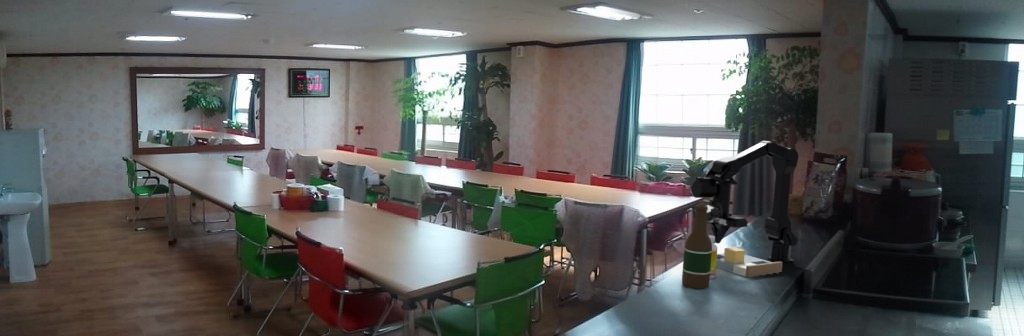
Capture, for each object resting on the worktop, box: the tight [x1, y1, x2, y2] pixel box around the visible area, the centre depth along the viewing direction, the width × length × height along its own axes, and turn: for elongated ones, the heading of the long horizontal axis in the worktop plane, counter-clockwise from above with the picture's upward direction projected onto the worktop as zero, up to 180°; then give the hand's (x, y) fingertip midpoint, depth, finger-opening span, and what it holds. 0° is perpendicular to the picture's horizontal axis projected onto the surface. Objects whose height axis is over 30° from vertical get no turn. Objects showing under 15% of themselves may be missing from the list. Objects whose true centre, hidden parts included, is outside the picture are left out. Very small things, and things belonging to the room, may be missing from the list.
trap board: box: [716, 252, 784, 278], centre depth 219 cm, size 16×19×4 cm
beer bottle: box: [681, 204, 712, 290], centre depth 192 cm, size 8×8×24 cm
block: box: [723, 246, 746, 263], centre depth 217 cm, size 4×4×4 cm
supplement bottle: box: [708, 234, 718, 280], centre depth 205 cm, size 7×7×13 cm
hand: (717, 243), depth 223 cm, fingers closed
